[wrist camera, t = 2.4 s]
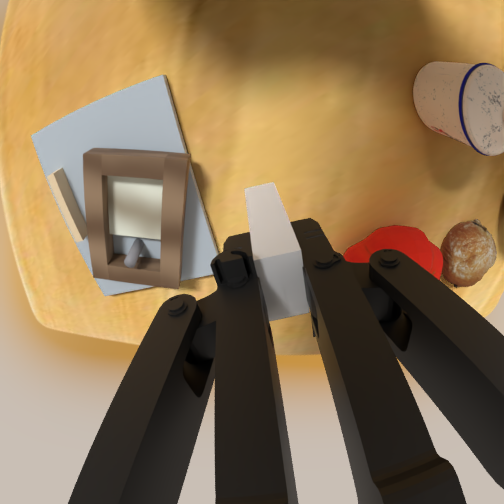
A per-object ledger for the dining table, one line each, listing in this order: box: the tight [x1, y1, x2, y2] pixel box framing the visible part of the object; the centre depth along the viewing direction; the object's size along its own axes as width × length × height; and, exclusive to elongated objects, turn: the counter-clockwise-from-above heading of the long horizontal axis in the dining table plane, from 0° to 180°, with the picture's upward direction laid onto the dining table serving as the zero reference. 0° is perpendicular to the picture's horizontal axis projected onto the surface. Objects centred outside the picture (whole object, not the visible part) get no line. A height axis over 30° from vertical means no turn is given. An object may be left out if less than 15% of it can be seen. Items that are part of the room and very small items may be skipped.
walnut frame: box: [83, 148, 191, 289], centre depth 28 cm, size 14×10×2 cm
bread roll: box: [440, 219, 497, 287], centre depth 34 cm, size 10×10×8 cm
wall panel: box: [31, 75, 219, 296], centre depth 27 cm, size 22×16×5 cm
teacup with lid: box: [413, 62, 504, 156], centre depth 20 cm, size 12×9×12 cm
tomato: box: [343, 225, 443, 280], centre depth 32 cm, size 14×13×9 cm
